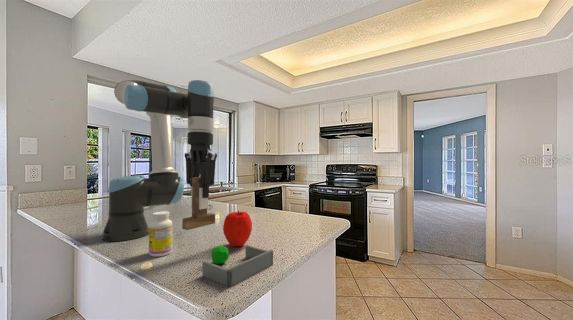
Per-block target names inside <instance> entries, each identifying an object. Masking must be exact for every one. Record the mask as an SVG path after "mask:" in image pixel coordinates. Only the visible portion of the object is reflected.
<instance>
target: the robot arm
mask: <svg viewBox="0 0 573 320" xmlns="http://www.w3.org/2000/svg"><path fill="white" fill-rule="evenodd" d="M186 90H187V93H183V92H178V91H177V90H176V89H175V88H174V87H172V86H168V85H165V84H163V85H162V84H157V83H152V82H147V81H142V80H137V79H130V80H122V81H120V82H118V83H117V84H116V85H115V87H114V97H115V99H116V100H117V101H118V102H119V103H121V104H123V105H124V106H125V108H126V109H127V110H129V111H130V110H131V111H135V112H143V113H145V114H146V115H147V116H148V117H149V119H150V120H149V122H150V141H151V142H150V143H151V144H150V146H151V148H150V149H151V167H152V170H151V171H150V172H149V173H148V177H145V176H144V175H143V174H136V175H128V176H121V177H116V178H112V179H111V180H110V181H109V185H108V192H107V193H108V218H107V221H106V223H105V226H104V229H103V231H102V240H104V241H106V242H121V241H123V242H124V241H130V240H134V239H138V238H142V237H145V236H146V235H149V224H148V222H147V220H146V217H145V207H148V208H149V207H156V206H157V207H158V206H165V205H166V206H169V205H174V204H178V203H179V202H180V201H181V200H182V198H183V194H184V189H185V181H184V178H183V177H181V176H179V172H178V170H176V169H175V162H174V161H175V159H174V157H175V156H174V142H173V141H174V140H173V124H172V123H173V122H172V120H173V119H172V118H173V117H175V116H177V117H179V118H182V119H187V131H189V132H188V133H187V137H186V138H187V139H186V140H187V144H188V145H190V149H189V152H185V153H184V158H185V173H186V174H185V177H186V179H185V180H186V184H187V185H188V184H189V186H190V195H191V199H190V201H191V204H190V206H191V207H190V208H191V209H192V178H193V177H200V179H201V186H199V187H200V188H199V209H206V208H207V209H208V208H209V197H210V187H211V186H214V185H215V175H216V160H217V158H218V153H217V152H213V151H212V149H211V146H213V145H214V134H213V133H212V132H214V101H215V100H214V99H215V94H214V92H215V91H214V85H213V84H212V83H211V82H210V81H206V80H202V79H201V80H200V79H194V80H191V81H189V82H188V84H187V89H186Z"/></svg>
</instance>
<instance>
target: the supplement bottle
mask: <svg viewBox="0 0 573 320" xmlns="http://www.w3.org/2000/svg"><path fill="white" fill-rule="evenodd" d="M169 217H170V212H169V211H164V210H163V211H157V212H153V213H152V219H153V220H152V221H150V222H149V224H148V228H149V229H148V255H149V256H150V257H153V258H157V257H158V258H159V257H165V256H167V255H170V254H171V253H172V252H173V221H172V220H171V219H169Z"/></svg>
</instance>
